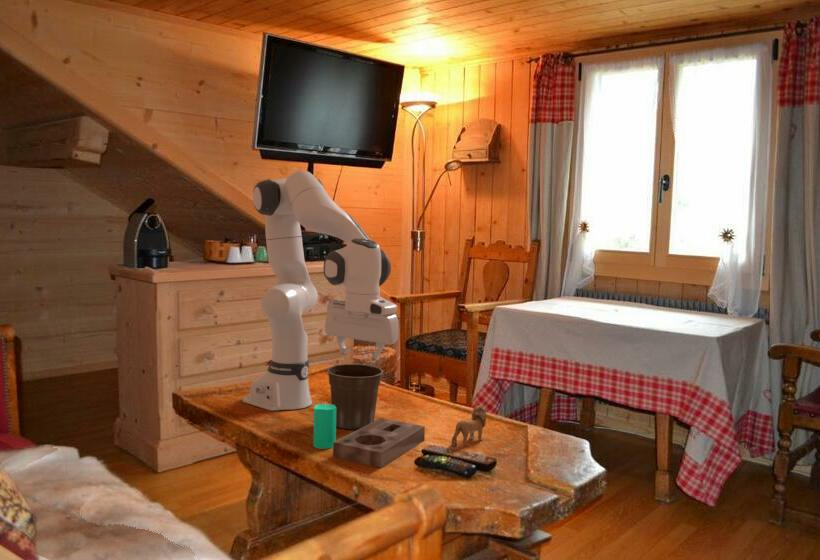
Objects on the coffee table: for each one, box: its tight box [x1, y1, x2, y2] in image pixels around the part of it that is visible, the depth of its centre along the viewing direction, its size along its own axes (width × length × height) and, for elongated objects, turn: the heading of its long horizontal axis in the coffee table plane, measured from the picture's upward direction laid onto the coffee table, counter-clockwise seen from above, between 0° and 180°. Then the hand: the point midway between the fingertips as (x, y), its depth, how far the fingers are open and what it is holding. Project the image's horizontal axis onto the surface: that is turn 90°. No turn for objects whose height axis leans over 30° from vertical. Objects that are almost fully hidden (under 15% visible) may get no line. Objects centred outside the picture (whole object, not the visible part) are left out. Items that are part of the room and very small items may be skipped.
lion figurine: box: [451, 405, 487, 448], centre depth 190 cm, size 15×5×9 cm, turn 146°
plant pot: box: [326, 363, 384, 431], centre depth 202 cm, size 16×16×16 cm
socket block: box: [332, 417, 426, 469], centre depth 183 cm, size 14×24×4 cm, turn 153°
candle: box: [312, 400, 337, 450], centre depth 184 cm, size 6×6×12 cm
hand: (359, 356), depth 178 cm, fingers open, 8 cm apart
